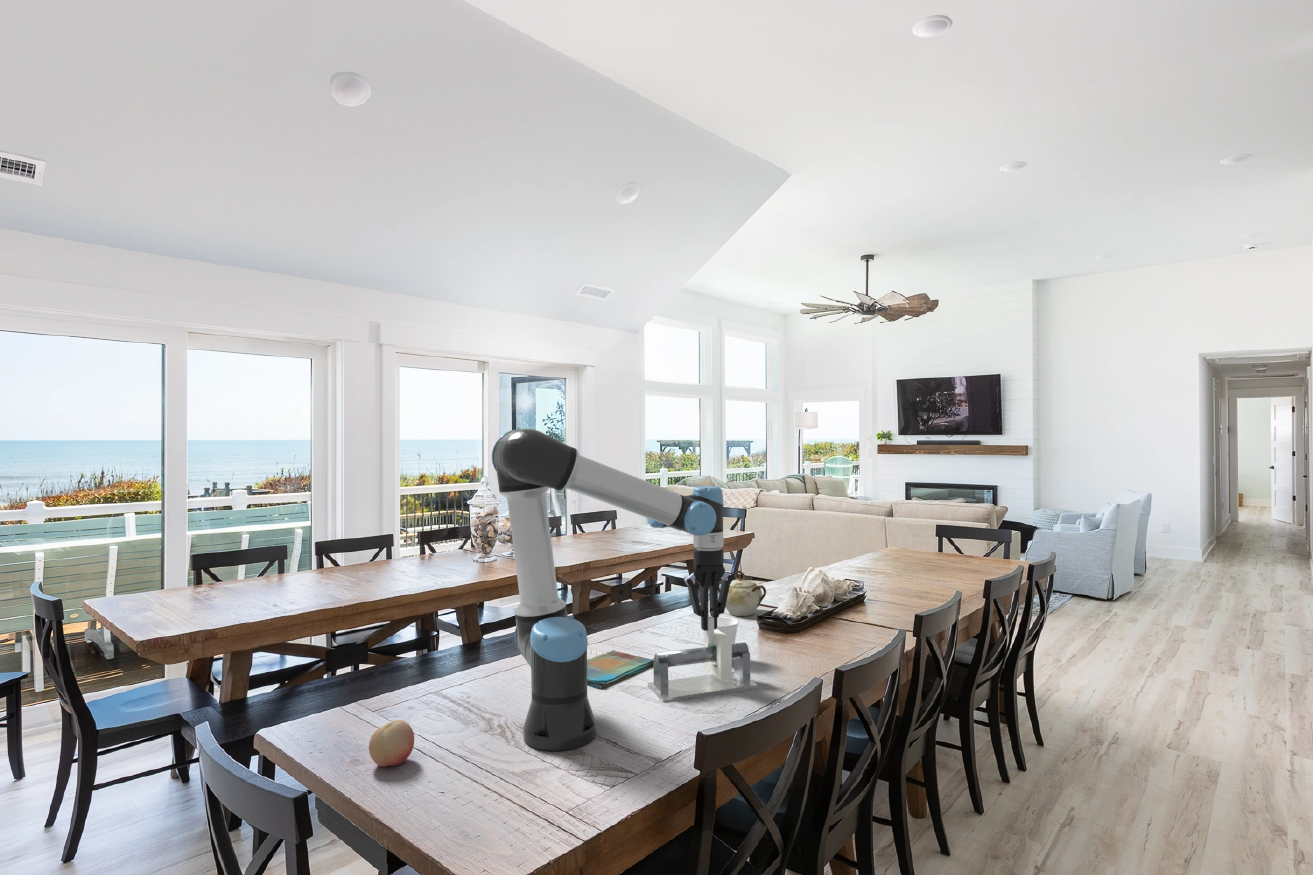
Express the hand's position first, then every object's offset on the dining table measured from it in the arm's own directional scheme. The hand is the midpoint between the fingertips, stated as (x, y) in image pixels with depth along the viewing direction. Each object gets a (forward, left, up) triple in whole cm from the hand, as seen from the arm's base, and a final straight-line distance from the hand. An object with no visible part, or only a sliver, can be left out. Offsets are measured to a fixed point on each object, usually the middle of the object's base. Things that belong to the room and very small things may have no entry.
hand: (709, 642), depth 175 cm
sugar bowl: (+39, +61, -11) cm, 73 cm away
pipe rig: (-2, 0, -11) cm, 11 cm away
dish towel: (-21, +21, -12) cm, 32 cm away
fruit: (-74, -16, -11) cm, 77 cm away
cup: (+11, +17, -11) cm, 23 cm away
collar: (+2, 0, -8) cm, 8 cm away
